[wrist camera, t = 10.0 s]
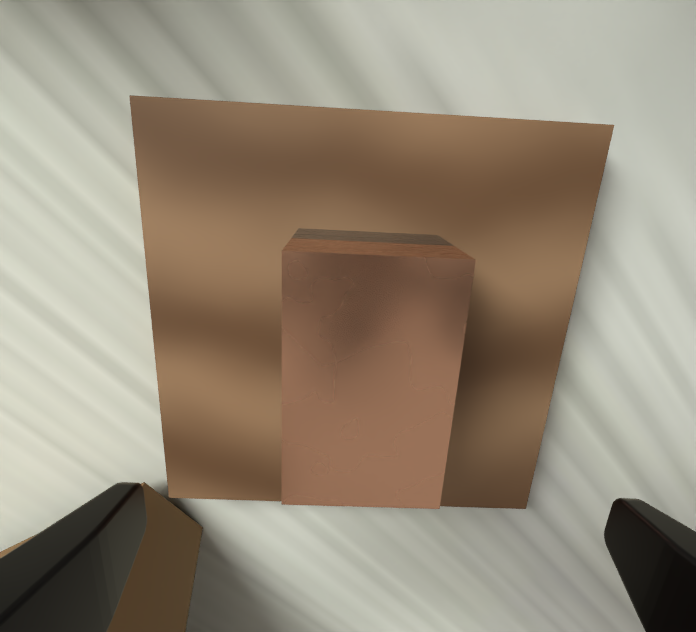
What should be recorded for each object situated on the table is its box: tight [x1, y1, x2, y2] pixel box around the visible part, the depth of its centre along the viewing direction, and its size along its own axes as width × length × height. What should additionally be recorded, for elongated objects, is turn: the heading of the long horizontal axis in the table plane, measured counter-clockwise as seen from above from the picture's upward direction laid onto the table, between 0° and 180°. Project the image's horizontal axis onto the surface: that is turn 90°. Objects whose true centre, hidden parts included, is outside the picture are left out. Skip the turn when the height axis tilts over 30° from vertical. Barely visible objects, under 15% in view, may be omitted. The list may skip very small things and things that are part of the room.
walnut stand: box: [130, 96, 614, 509], centre depth 18 cm, size 16×16×2 cm
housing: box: [282, 228, 476, 509], centre depth 15 cm, size 5×10×5 cm, turn 177°
